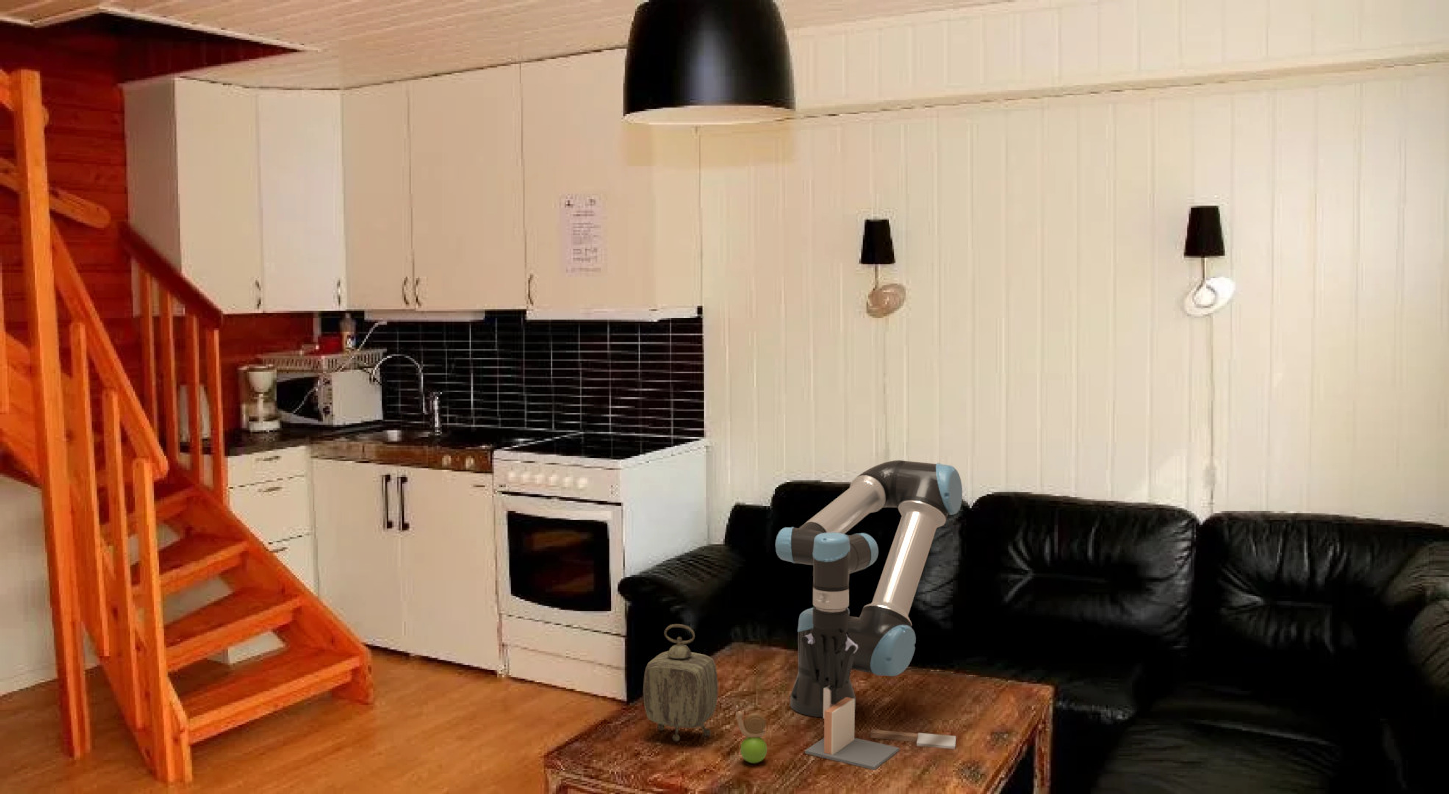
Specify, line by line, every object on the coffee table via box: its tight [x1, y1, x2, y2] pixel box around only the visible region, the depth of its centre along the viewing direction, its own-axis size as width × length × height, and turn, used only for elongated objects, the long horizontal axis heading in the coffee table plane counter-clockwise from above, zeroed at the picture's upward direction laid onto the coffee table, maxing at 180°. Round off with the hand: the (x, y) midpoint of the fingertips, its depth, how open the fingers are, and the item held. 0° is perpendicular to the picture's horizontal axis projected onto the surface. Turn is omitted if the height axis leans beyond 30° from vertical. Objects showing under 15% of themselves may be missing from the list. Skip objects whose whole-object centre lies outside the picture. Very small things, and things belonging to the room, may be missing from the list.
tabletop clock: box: [642, 623, 719, 743], centre depth 259 cm, size 14×9×25 cm, turn 71°
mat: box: [804, 737, 900, 771], centre depth 252 cm, size 16×12×1 cm
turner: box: [869, 729, 957, 750], centre depth 259 cm, size 18×6×1 cm, turn 77°
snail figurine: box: [735, 704, 768, 764], centre depth 246 cm, size 5×6×12 cm
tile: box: [823, 697, 856, 755], centre depth 253 cm, size 2×10×9 cm, turn 148°
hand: (829, 717), depth 254 cm, fingers closed
